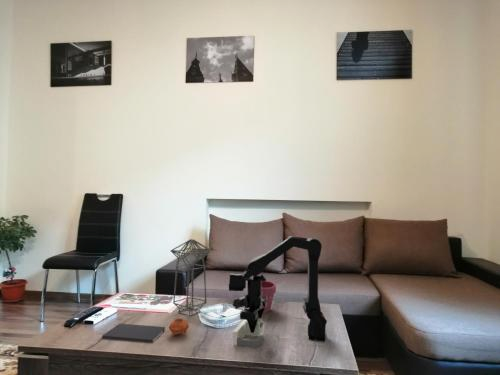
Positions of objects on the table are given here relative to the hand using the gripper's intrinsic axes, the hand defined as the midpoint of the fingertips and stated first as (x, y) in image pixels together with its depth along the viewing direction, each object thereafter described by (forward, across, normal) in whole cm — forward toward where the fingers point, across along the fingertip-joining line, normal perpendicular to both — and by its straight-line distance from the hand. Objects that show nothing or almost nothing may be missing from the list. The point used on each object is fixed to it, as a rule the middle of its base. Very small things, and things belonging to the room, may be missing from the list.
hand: (254, 330), depth 137 cm
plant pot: (+3, -31, -6) cm, 32 cm away
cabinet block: (+1, 0, 0) cm, 1 cm away
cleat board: (+2, +3, 0) cm, 4 cm away
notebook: (+3, +13, -47) cm, 49 cm away
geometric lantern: (+3, -18, -38) cm, 42 cm away
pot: (+3, +8, -30) cm, 31 cm away
